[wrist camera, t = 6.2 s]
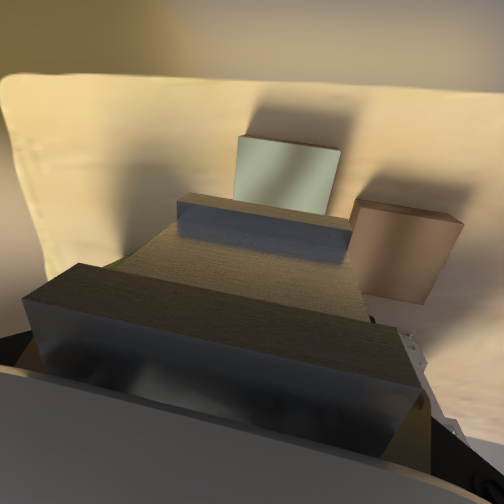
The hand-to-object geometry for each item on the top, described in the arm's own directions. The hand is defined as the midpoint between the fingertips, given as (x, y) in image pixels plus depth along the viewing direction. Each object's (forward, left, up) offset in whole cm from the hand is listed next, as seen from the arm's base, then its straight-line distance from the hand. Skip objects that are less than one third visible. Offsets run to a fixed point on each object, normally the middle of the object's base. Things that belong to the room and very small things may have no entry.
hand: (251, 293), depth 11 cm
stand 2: (-12, +4, -19) cm, 23 cm away
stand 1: (0, 0, -19) cm, 19 cm away
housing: (0, 0, -1) cm, 1 cm away
